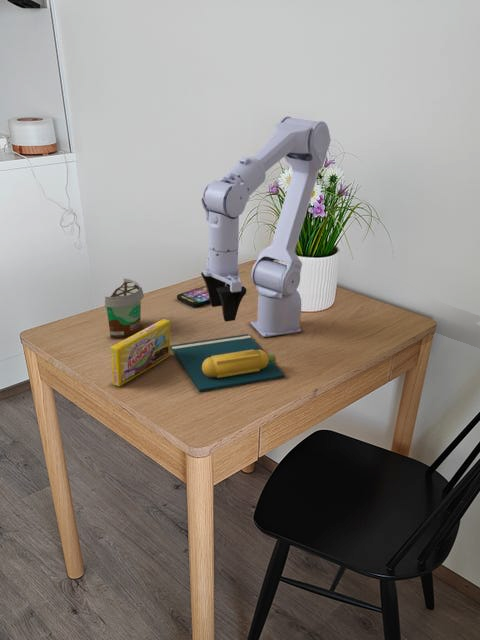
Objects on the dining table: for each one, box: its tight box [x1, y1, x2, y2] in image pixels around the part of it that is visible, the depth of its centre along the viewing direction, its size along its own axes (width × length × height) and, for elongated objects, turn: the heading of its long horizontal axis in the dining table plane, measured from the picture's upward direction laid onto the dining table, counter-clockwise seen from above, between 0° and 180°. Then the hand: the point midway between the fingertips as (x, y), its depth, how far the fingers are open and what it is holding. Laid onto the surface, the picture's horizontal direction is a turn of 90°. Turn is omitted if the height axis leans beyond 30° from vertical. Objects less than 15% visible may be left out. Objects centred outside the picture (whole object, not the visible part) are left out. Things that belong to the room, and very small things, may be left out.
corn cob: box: [202, 349, 277, 378], centre depth 126 cm, size 4×15×4 cm, turn 111°
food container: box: [104, 278, 144, 339], centre depth 140 cm, size 12×6×10 cm, turn 168°
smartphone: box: [176, 284, 226, 308], centre depth 161 cm, size 8×1×15 cm
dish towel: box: [170, 333, 286, 393], centre depth 131 cm, size 18×20×1 cm
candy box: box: [110, 318, 171, 388], centre depth 125 cm, size 16×2×8 cm, turn 148°
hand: (222, 313), depth 129 cm, fingers open, 7 cm apart
